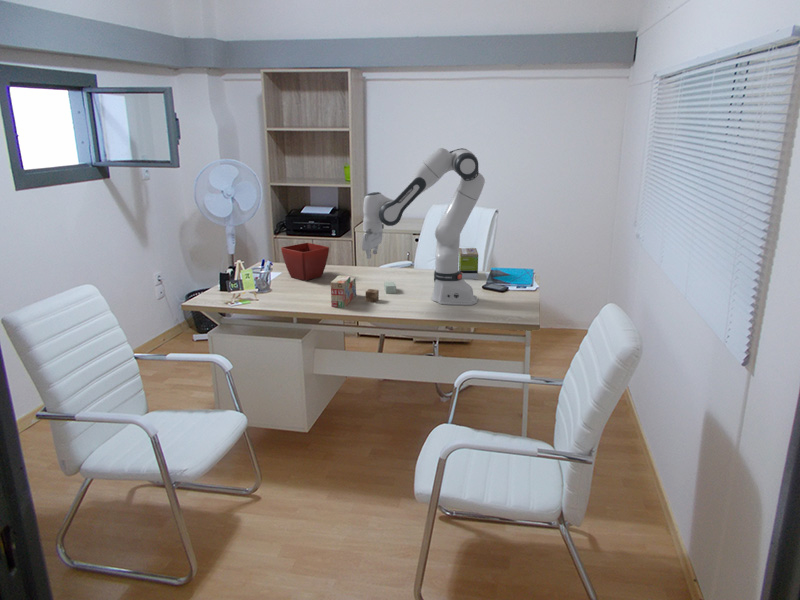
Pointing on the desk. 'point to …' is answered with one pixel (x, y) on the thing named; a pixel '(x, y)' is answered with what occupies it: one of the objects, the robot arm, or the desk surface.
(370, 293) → the walnut cube
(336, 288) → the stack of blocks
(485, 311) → the desk surface
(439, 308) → the desk surface
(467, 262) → the tea box
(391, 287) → the sage block
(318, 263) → the plant pot
